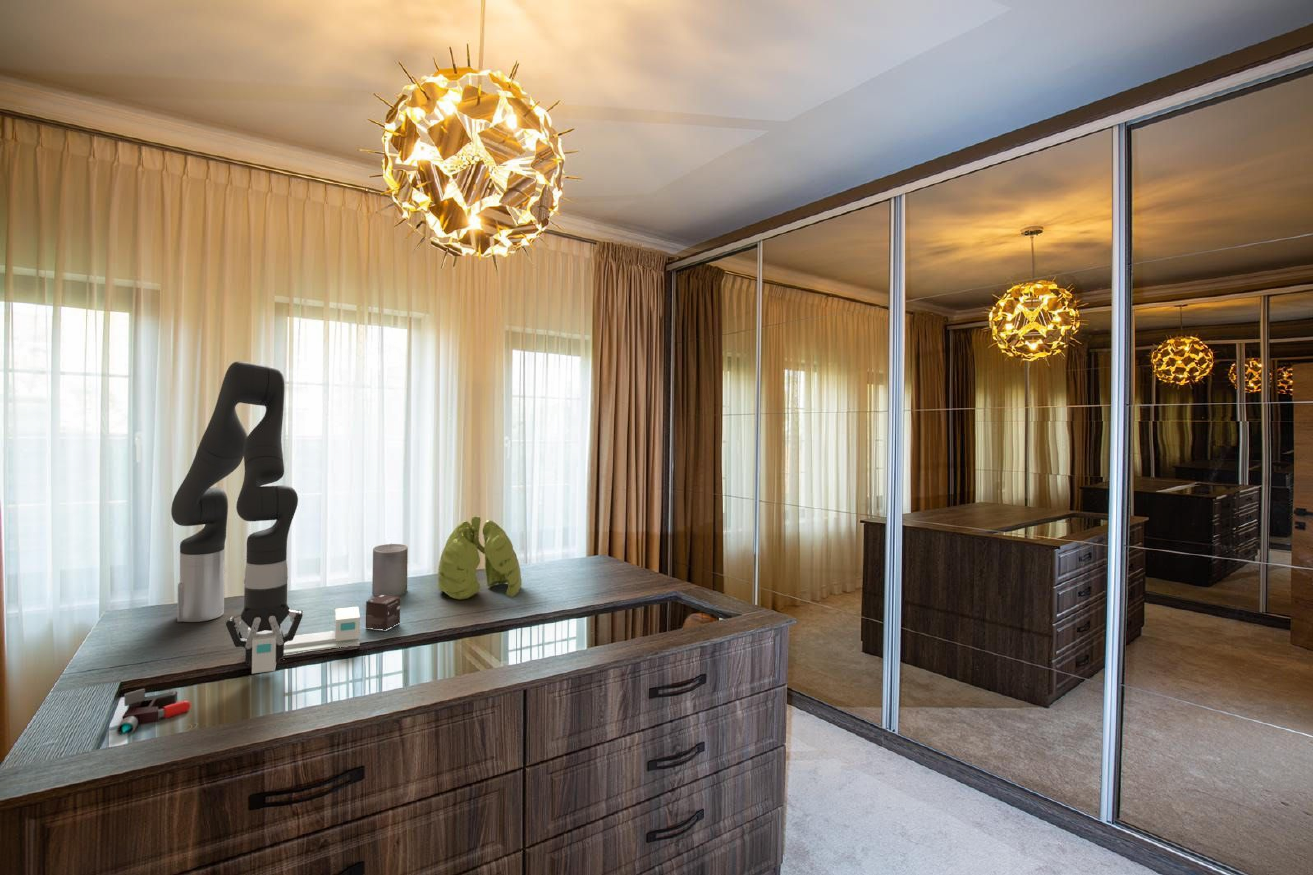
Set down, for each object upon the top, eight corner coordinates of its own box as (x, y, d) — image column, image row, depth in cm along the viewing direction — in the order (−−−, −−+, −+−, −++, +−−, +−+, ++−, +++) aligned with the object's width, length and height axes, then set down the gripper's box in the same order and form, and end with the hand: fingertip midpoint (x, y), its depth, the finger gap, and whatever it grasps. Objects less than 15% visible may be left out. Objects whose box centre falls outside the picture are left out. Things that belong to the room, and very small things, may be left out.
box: (385, 632, 154) (386, 604, 154) (364, 629, 155) (365, 601, 155) (400, 624, 160) (401, 596, 160) (379, 621, 161) (380, 594, 161)
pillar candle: (385, 586, 190) (386, 538, 189) (413, 589, 188) (414, 541, 187) (364, 596, 181) (365, 545, 179) (394, 599, 179) (394, 549, 178)
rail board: (246, 664, 133) (247, 631, 133) (251, 646, 142) (252, 616, 141) (359, 649, 143) (360, 618, 143) (357, 634, 152) (358, 605, 152)
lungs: (437, 603, 177) (440, 520, 176) (436, 587, 192) (439, 510, 190) (525, 597, 186) (528, 519, 185) (517, 582, 201) (520, 509, 199)
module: (251, 674, 124) (252, 640, 124) (254, 661, 130) (255, 629, 129) (274, 671, 126) (275, 638, 125) (277, 658, 131) (277, 626, 131)
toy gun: (110, 741, 103) (110, 714, 103) (132, 708, 114) (132, 682, 114) (181, 730, 108) (181, 703, 107) (196, 699, 118) (196, 674, 118)
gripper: (306, 573, 133) (304, 650, 134) (227, 579, 127) (225, 660, 128) (305, 584, 127) (303, 664, 128) (221, 590, 120) (220, 675, 121)
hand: (264, 662), depth 128 cm, fingers closed on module, 4 cm apart
